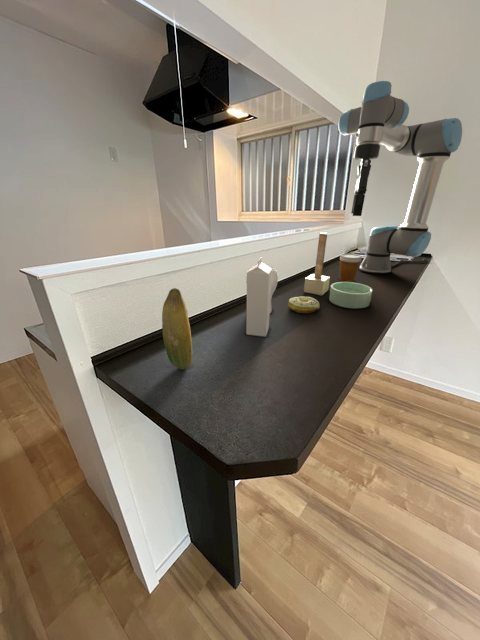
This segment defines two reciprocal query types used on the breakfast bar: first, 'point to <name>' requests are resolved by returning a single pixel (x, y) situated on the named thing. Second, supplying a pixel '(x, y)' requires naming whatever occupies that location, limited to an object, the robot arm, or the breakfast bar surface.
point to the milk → (258, 299)
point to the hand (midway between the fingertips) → (355, 214)
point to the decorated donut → (303, 304)
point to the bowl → (350, 294)
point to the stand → (316, 284)
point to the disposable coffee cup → (349, 267)
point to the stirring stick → (320, 255)
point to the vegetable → (177, 330)
